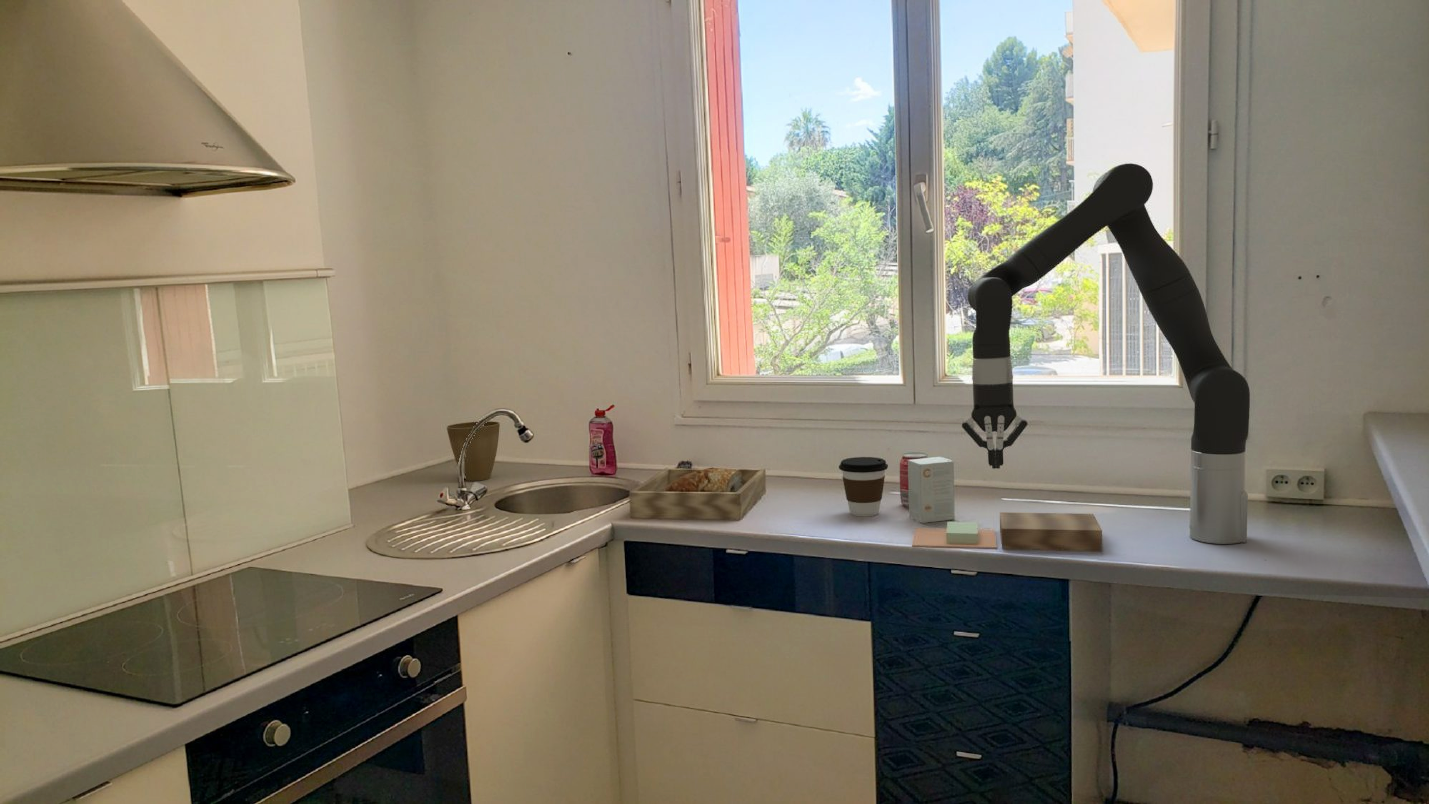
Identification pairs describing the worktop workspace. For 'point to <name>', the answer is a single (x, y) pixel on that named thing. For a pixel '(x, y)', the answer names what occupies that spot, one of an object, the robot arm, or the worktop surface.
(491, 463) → the plant pot
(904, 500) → the soda can
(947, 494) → the small box
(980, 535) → the mat
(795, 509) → the worktop surface
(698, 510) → the bread crate
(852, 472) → the coffee cup
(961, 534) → the pale green foam block
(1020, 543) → the board
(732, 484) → the bread
